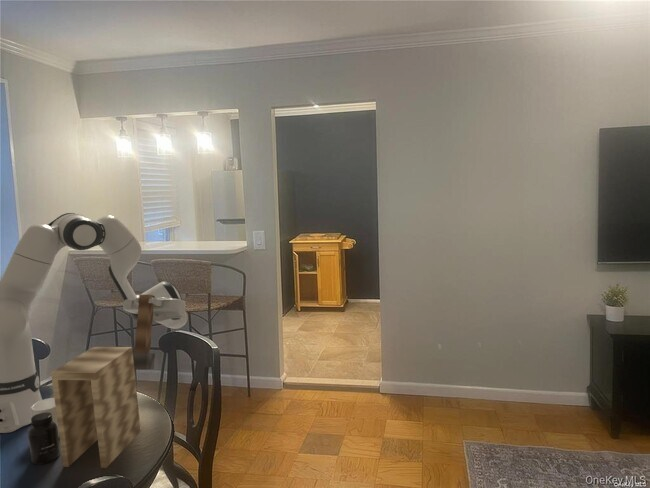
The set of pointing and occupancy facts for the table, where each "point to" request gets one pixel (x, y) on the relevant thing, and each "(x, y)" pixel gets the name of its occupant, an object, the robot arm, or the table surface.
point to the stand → (96, 403)
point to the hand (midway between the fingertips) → (143, 300)
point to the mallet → (144, 335)
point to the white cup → (46, 408)
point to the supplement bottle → (43, 439)
